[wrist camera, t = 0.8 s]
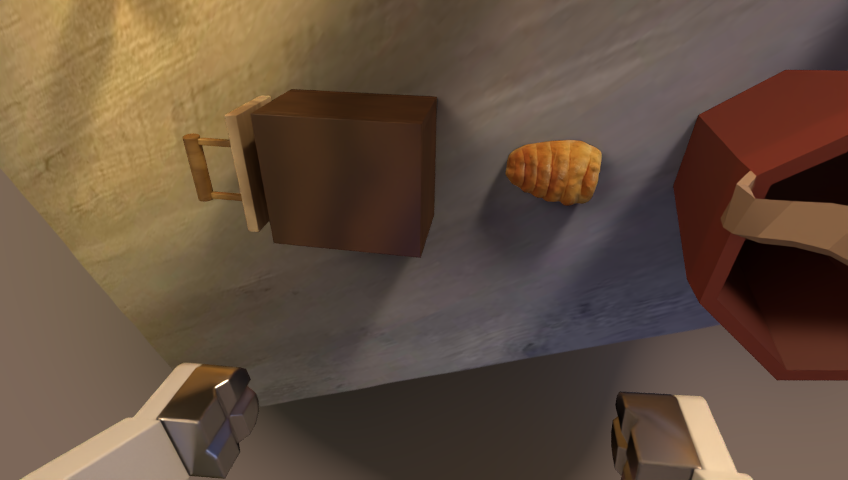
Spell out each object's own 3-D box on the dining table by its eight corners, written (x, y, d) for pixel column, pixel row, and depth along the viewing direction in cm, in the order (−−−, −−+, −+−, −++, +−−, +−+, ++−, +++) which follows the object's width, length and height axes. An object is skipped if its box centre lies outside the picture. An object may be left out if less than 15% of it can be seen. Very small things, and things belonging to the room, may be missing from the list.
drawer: (233, 197, 58) (198, 226, 52) (210, 92, 52) (167, 111, 45) (395, 211, 55) (380, 243, 49) (393, 102, 49) (374, 124, 43)
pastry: (502, 189, 53) (501, 204, 50) (511, 130, 49) (510, 142, 46) (588, 199, 52) (593, 215, 48) (604, 139, 48) (610, 152, 45)
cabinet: (306, 204, 58) (273, 243, 50) (291, 89, 51) (249, 113, 43) (434, 215, 56) (420, 257, 48) (436, 96, 49) (421, 123, 41)
